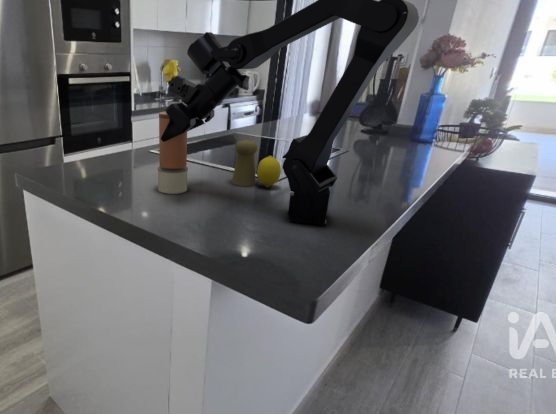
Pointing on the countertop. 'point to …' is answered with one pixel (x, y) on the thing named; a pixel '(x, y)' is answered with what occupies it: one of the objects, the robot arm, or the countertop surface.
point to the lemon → (268, 171)
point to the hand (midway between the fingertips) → (167, 137)
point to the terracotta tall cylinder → (171, 147)
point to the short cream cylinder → (172, 180)
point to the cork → (245, 164)
